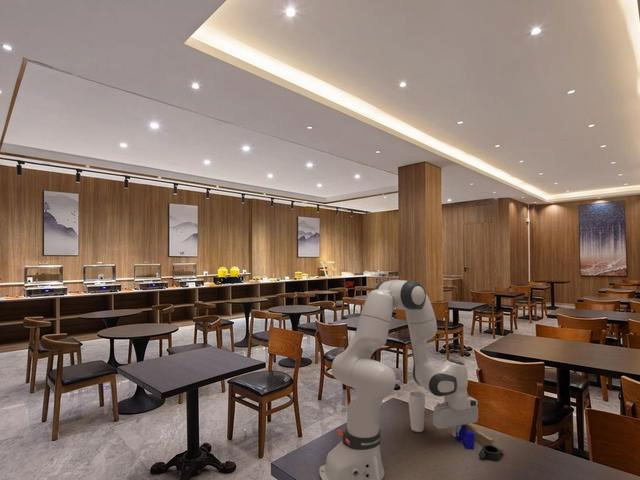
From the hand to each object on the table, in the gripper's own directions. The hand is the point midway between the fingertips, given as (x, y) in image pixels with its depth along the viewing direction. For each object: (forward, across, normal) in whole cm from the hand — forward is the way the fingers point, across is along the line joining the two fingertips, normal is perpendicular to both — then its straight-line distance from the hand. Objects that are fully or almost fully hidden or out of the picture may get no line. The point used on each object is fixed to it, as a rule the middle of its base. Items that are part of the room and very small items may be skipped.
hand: (455, 435), depth 143 cm
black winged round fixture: (+2, +4, -14) cm, 15 cm away
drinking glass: (+2, -9, +13) cm, 16 cm away
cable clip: (+2, +2, -2) cm, 3 cm away
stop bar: (+2, +5, +1) cm, 6 cm away
